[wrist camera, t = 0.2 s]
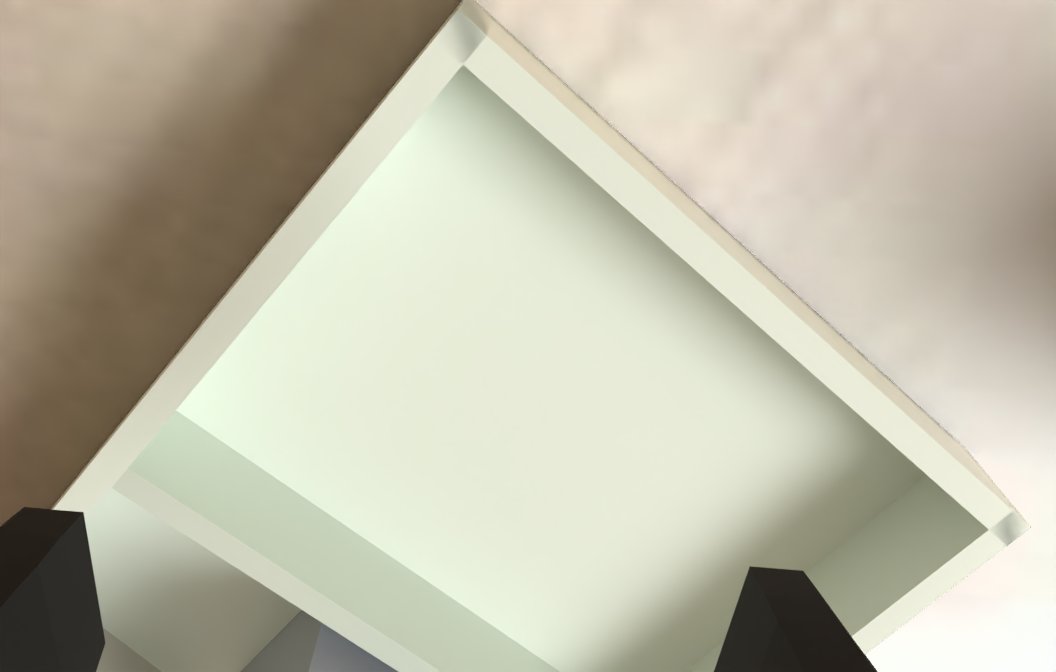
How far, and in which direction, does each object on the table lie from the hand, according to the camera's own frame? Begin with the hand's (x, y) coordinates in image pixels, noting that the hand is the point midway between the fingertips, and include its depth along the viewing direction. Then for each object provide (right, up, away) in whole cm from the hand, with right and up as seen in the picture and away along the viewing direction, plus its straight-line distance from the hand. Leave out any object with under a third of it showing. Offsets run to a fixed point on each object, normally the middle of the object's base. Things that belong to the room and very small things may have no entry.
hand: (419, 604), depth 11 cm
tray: (-2, -3, +13) cm, 13 cm away
